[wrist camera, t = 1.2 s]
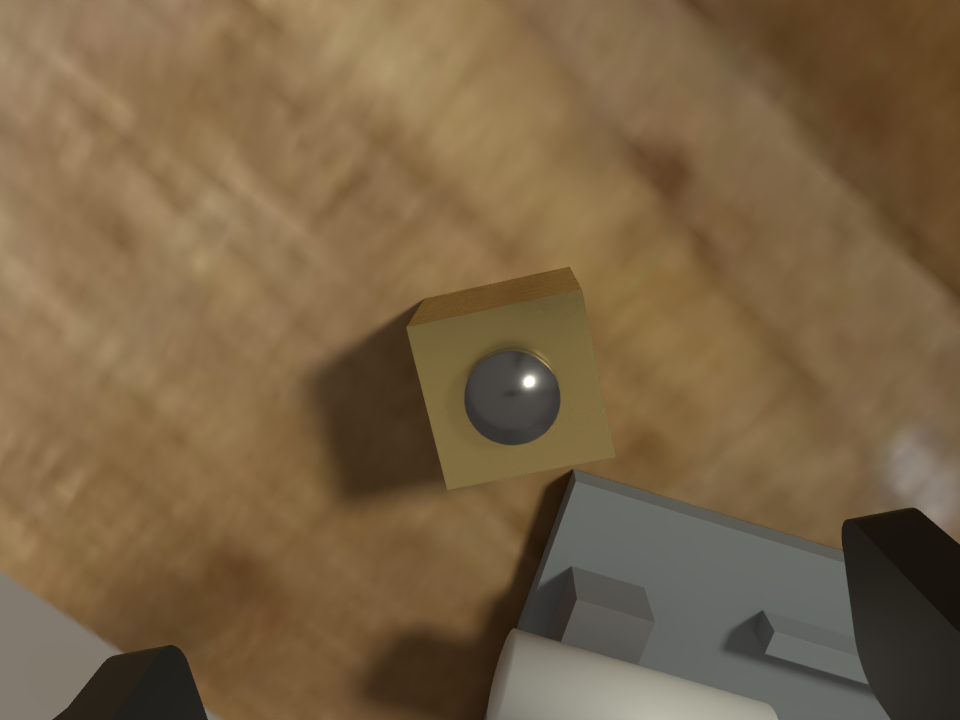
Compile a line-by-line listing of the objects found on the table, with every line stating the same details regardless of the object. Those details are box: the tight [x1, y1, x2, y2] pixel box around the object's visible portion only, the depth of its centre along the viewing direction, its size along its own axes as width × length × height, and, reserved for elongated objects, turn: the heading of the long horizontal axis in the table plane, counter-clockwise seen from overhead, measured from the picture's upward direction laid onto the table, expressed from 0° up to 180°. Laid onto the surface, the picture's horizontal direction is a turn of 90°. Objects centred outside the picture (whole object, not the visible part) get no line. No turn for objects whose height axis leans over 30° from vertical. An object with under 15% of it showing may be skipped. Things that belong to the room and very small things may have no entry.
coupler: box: [406, 267, 615, 490], centre depth 23 cm, size 4×4×5 cm
